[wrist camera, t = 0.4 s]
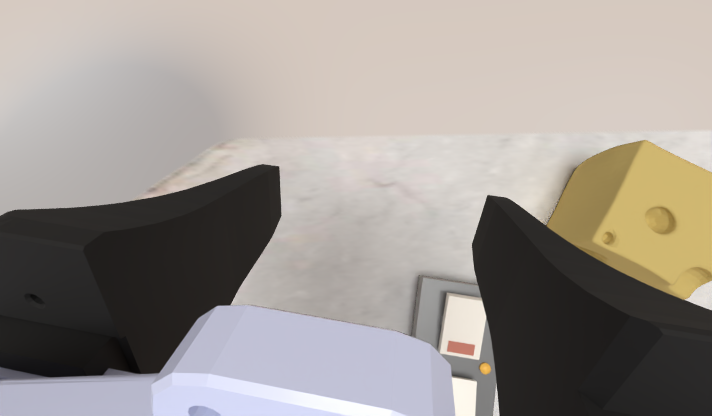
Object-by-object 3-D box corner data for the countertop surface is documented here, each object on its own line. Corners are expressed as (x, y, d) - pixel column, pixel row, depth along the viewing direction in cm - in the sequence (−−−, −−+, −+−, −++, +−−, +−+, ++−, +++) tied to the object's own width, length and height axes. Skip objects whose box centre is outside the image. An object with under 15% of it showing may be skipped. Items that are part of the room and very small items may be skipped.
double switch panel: (480, 436, 34) (493, 458, 31) (400, 421, 35) (403, 441, 31) (495, 287, 36) (509, 291, 32) (419, 275, 37) (424, 278, 33)
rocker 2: (470, 446, 30) (473, 451, 29) (429, 438, 31) (432, 443, 30) (473, 379, 32) (477, 381, 31) (435, 372, 32) (437, 375, 31)
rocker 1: (476, 354, 32) (479, 360, 31) (438, 348, 32) (439, 354, 31) (485, 298, 32) (489, 302, 31) (446, 292, 32) (449, 296, 31)
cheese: (622, 295, 35) (718, 313, 25) (527, 242, 37) (584, 240, 27) (666, 209, 36) (776, 194, 26) (572, 160, 37) (643, 128, 27)
